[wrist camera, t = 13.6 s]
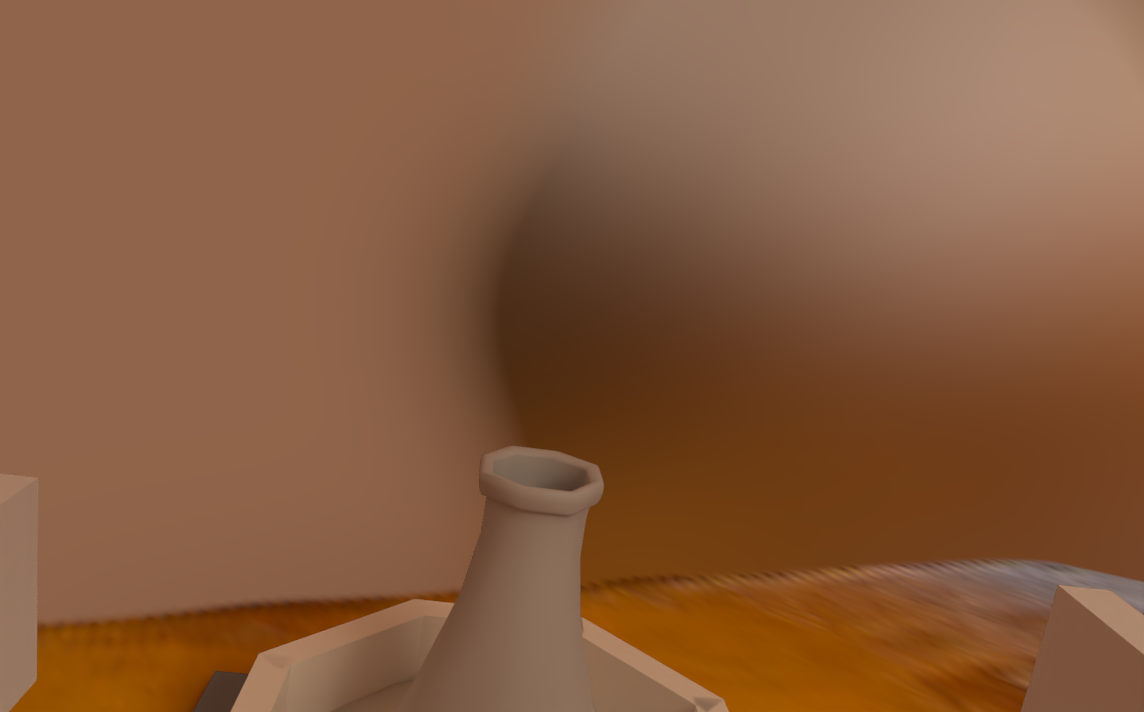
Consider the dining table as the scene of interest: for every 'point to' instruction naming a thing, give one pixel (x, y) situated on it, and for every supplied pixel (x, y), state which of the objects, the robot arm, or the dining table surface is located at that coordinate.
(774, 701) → the dining table surface
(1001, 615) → the dining table surface
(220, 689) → the mat
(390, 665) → the bowl
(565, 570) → the flask
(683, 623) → the dining table surface
